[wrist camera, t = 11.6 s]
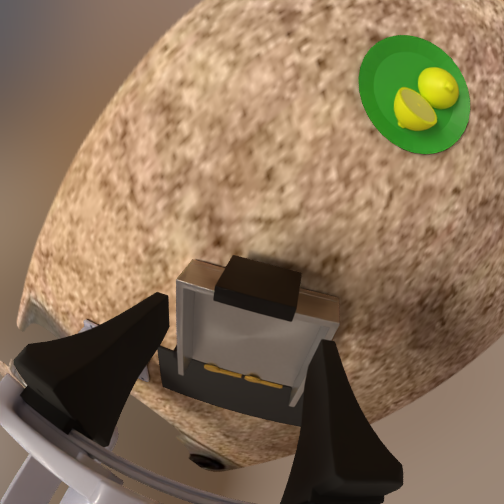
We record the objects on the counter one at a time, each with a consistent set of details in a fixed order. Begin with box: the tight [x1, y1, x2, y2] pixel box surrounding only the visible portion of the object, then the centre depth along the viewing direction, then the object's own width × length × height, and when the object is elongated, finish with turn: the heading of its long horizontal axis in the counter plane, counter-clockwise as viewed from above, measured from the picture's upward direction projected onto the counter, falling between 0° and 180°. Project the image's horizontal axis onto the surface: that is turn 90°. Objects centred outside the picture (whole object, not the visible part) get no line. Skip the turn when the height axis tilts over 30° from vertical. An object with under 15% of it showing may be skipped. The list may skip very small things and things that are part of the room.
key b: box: [244, 376, 283, 388], centre depth 27 cm, size 4×2×1 cm, turn 73°
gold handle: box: [173, 345, 304, 395], centre depth 27 cm, size 1×15×1 cm, turn 80°
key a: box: [204, 364, 242, 378], centre depth 28 cm, size 4×2×1 cm, turn 78°
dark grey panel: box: [157, 346, 304, 427], centre depth 30 cm, size 20×9×1 cm, turn 80°
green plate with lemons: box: [359, 35, 470, 154], centre depth 12 cm, size 8×8×3 cm
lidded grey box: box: [176, 255, 340, 407], centre depth 22 cm, size 14×12×5 cm
